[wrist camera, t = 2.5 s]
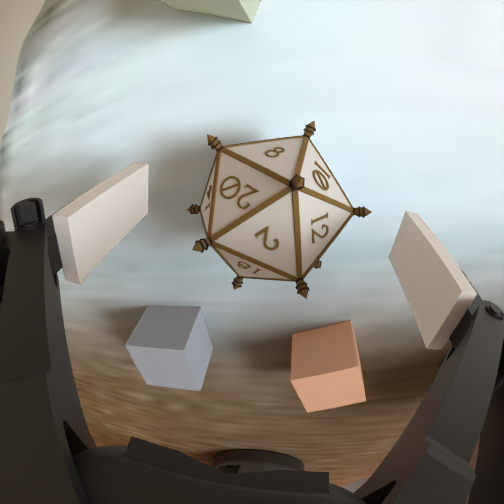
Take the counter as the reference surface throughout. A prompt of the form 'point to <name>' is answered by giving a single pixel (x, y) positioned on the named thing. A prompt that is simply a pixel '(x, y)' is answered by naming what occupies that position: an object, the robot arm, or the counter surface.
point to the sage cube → (219, 7)
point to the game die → (272, 208)
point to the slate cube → (171, 347)
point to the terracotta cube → (327, 367)
